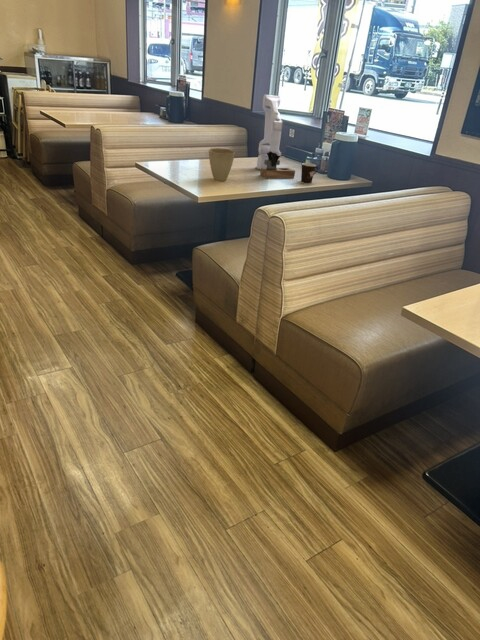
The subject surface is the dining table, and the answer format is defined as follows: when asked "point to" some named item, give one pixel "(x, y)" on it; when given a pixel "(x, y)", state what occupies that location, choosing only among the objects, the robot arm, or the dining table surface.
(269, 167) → the grey rectangular block
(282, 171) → the wooden slotted block
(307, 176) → the coffee mug
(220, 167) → the plant pot
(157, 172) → the dining table surface
